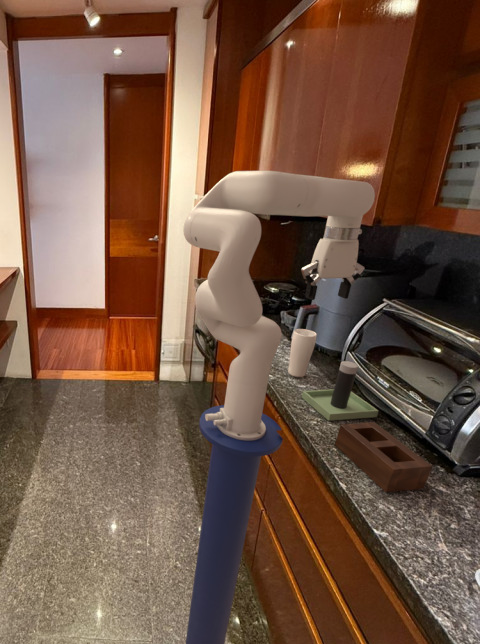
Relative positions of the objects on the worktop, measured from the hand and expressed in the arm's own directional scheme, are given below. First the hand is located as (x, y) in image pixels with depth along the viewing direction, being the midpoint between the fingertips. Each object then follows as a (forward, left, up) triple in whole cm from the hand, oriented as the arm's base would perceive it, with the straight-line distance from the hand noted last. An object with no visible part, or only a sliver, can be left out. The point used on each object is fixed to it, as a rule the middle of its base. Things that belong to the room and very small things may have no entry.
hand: (326, 297), depth 106 cm
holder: (-3, -32, -30) cm, 44 cm away
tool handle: (+5, -8, -30) cm, 31 cm away
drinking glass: (+5, +12, -31) cm, 33 cm away
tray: (+5, -8, -30) cm, 32 cm away
